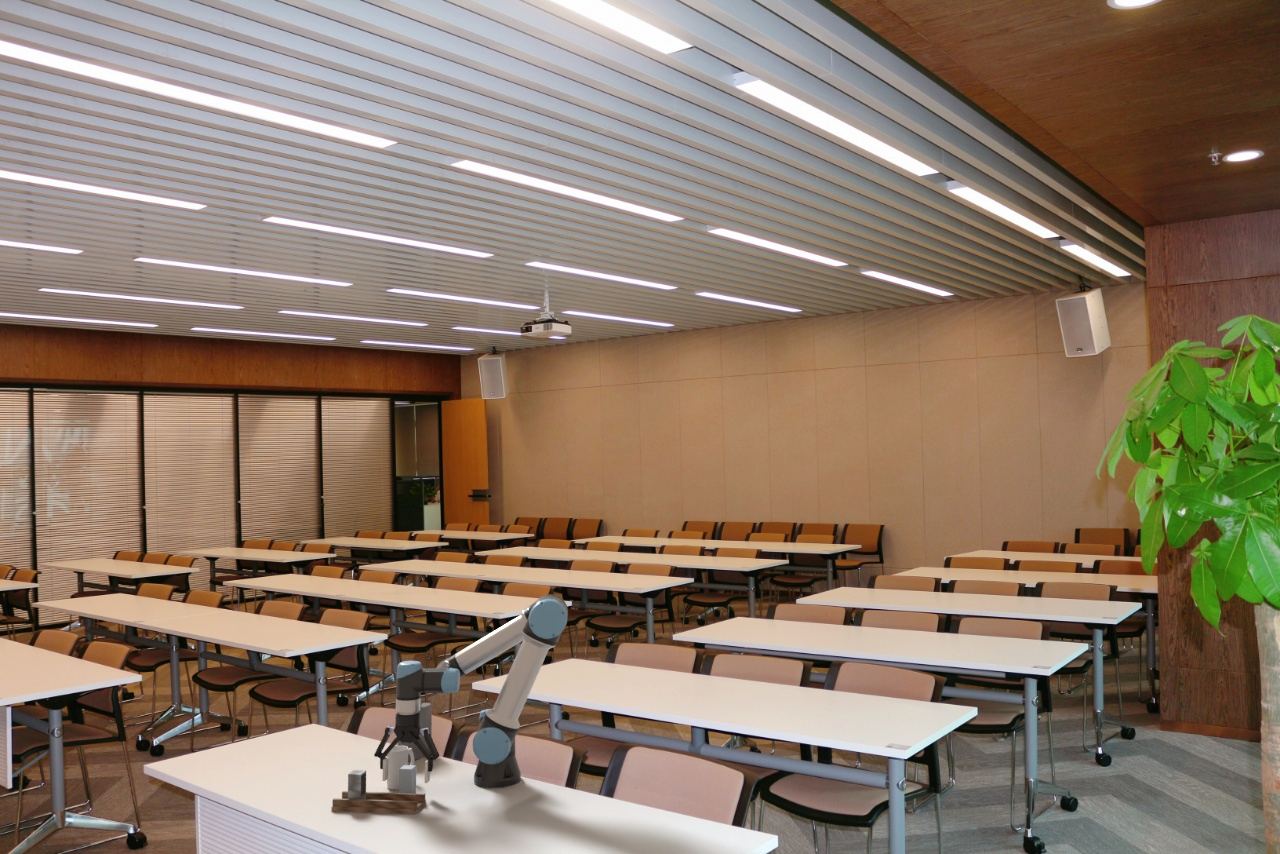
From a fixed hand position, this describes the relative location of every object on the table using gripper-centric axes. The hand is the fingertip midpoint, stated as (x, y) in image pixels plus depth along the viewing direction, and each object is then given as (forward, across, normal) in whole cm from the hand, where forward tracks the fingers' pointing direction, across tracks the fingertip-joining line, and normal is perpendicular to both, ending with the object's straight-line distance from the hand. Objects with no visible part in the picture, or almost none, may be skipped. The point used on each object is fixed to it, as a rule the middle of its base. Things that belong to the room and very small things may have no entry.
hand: (406, 780), depth 298 cm
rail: (+5, +4, +10) cm, 12 cm away
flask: (+5, +12, -41) cm, 43 cm away
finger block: (+5, 0, 0) cm, 5 cm away
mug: (+5, +5, -11) cm, 13 cm away
